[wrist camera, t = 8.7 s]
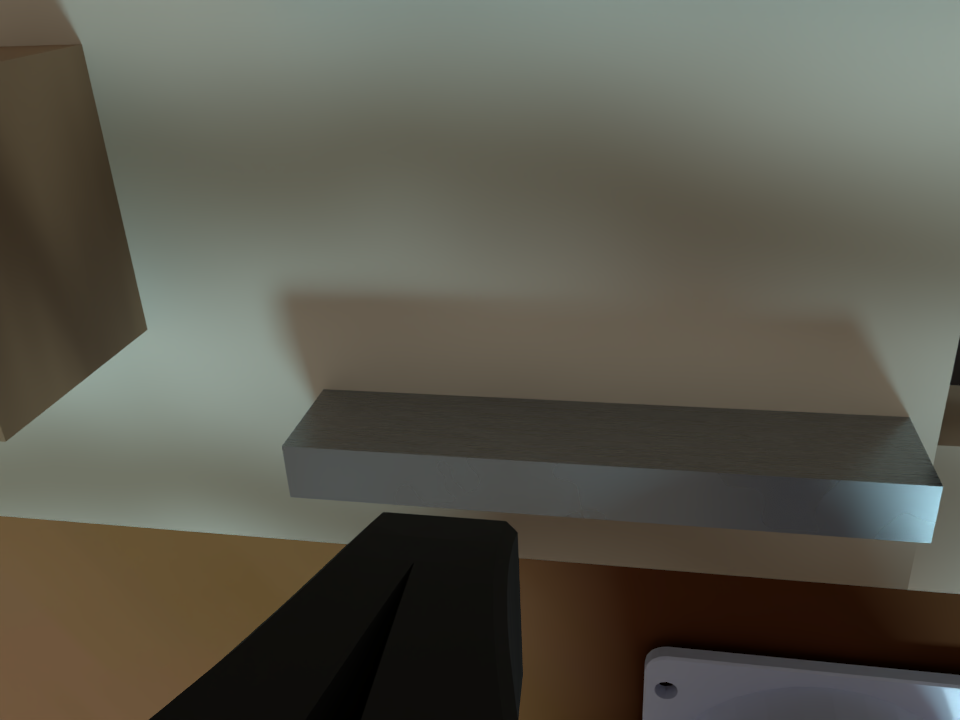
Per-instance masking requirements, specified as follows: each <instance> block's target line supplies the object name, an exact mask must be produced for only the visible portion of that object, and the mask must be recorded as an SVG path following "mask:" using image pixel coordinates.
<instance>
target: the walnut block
mask: <svg viewBox="0 0 960 720" xmlns="http://www.w3.org/2000/svg"><path fill="white" fill-rule="evenodd" d="M146 330H148V329H147V325H146V320H145V316H144V312H143V307H142V303H141V299H140V294H139V290H138V286H137V281H136V277H135V273H134V268H133V264H132V260H131V255H130V251H129V247H128V242H127V238H126V234H125V229H124V225H123V221H122V216H121V212H120V208H119V203H118V199H117V195H116V190H115V186H114V181H113V177H112V173H111V168H110V164H109V160H108V155H107V151H106V147H105V142H104V138H103V134H102V129H101V125H100V121H99V116H98V112H97V108H96V103H95V99H94V95H93V90H92V86H91V82H90V77H89V73H88V69H87V64H86V60H85V55H84V51H83V47H82V44H70V45H38V46H5V47H0V441H1V442H6V441H7V440H9V439H10V438H11V437H12V436H14V435H15V434H16V433H18V432H19V431H20V430H21V429H23V428H24V427H25V426H26V425H28V424H29V423H30V422H31V421H33V420H34V419H35V418H36V417H38V416H39V415H40V414H42V413H43V412H44V411H45V410H47V409H48V408H49V407H50V406H52V405H53V404H54V403H55V402H57V401H58V400H59V399H60V398H62V397H63V396H64V395H66V394H67V393H68V392H69V391H71V390H72V389H73V388H74V387H76V386H77V385H78V384H79V383H81V382H82V381H83V380H85V379H86V378H87V377H88V376H90V375H91V374H92V373H93V372H95V371H96V370H97V369H98V368H100V367H101V366H102V365H103V364H105V363H106V362H107V361H109V360H110V359H111V358H112V357H114V356H115V355H116V354H117V353H119V352H120V351H121V350H122V349H124V348H125V347H126V346H127V345H129V344H130V343H131V342H133V341H134V340H135V339H136V338H138V337H139V336H140V335H141V334H143V333H144V332H145V331H146Z"/></svg>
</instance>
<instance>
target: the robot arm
mask: <svg viewBox="0 0 960 720" xmlns="http://www.w3.org/2000/svg"><path fill="white" fill-rule="evenodd" d="M522 677H523V665H522V637H521V609H520V581H519V552H518V532H517V531H516V530H515V529H514V528H513V527H512V526H511V525H510V524H509V523H508V522H507V521H500V520H486V519H472V518H459V517H445V516H432V515H418V514H405V513H391V512H383V513H381V514H380V515H379V516H378V517H377V518H376V519H375V520H374V521H372V522H371V523H370V524H369V525H368V526H367V527H366V528H365V529H364V530H362V531H361V532H360V533H359V534H358V535H357V536H356V537H355V538H354V539H353V540H352V541H351V542H349V543H348V544H347V545H346V546H345V547H344V548H343V549H342V550H341V551H340V552H339V553H338V554H337V555H336V556H335V557H334V558H333V559H331V560H330V561H329V562H328V563H327V564H326V565H325V566H324V567H323V568H322V569H321V570H320V571H319V572H318V573H317V574H316V575H315V576H313V577H312V578H311V579H310V580H309V581H308V582H307V583H306V584H305V585H304V586H303V587H302V588H301V589H300V590H298V591H297V592H296V593H295V594H294V595H293V596H292V597H291V598H290V599H289V600H288V601H287V602H286V603H285V604H283V605H282V606H281V607H280V608H279V609H278V610H277V611H276V612H274V613H273V614H272V615H271V616H270V617H269V618H268V619H267V620H266V621H264V622H263V623H262V624H261V625H260V626H259V627H258V628H257V629H255V630H254V631H253V632H252V633H251V634H250V635H249V636H248V637H247V638H245V639H244V640H243V641H242V642H241V643H240V644H239V645H238V646H237V647H235V648H234V649H233V650H232V651H231V652H230V653H229V654H228V655H226V656H225V657H224V658H223V659H222V660H221V661H219V662H218V663H217V664H216V665H215V666H214V667H212V668H211V669H210V670H209V671H208V672H206V673H205V674H204V675H203V676H202V677H200V678H199V679H198V680H197V681H196V682H194V683H193V684H192V685H191V686H189V687H188V688H187V689H186V690H185V691H183V692H182V693H181V694H180V695H178V696H177V697H176V698H175V699H174V700H172V701H171V702H170V703H169V704H167V705H166V706H165V707H164V708H163V709H161V710H160V711H159V712H158V713H156V714H155V715H154V716H153V717H152V718H150V719H149V720H518V717H519V706H520V696H521V687H522ZM661 682H668V683H672V684H673V685H672V686H663V685H660V684H659V683H661ZM642 720H960V675H954V674H943V673H933V672H923V671H913V670H902V669H892V668H882V667H871V666H861V665H851V664H841V663H830V662H820V661H810V660H800V659H789V658H779V657H769V656H758V655H748V654H738V653H728V652H717V651H707V650H697V649H686V648H676V647H658V648H656V649H653V650H651V651H650V652H649V653H648V654H647V656H646V659H645V670H644V693H643V715H642Z"/></svg>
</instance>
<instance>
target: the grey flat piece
mask: <svg viewBox="0 0 960 720" xmlns="http://www.w3.org/2000/svg"><path fill="white" fill-rule="evenodd" d="M70 44H82V47H83V51H84V55H85V60H86V64H87V69H88V73H89V77H90V82H91V86H92V90H93V95H94V99H95V103H96V108H97V112H98V116H99V121H100V125H101V129H102V134H103V138H104V142H105V147H106V151H107V155H108V160H109V164H110V168H111V173H112V177H113V181H114V186H115V190H116V195H117V199H118V203H119V208H120V212H121V216H122V221H123V225H124V229H125V234H126V238H127V242H128V247H129V251H130V255H131V260H132V264H133V268H134V273H135V277H136V281H137V286H138V290H139V294H140V299H141V303H142V307H143V312H144V316H145V320H146V325H147V329H148V330H146V331H145V332H144V333H143V334H141V335H140V336H139V337H138V338H136V339H135V340H134V341H133V342H131V343H130V344H129V345H127V346H126V347H125V348H124V349H122V350H121V351H120V352H119V353H117V354H116V355H115V356H114V357H112V358H111V359H110V360H109V361H107V362H106V363H105V364H103V365H102V366H101V367H100V368H98V369H97V370H96V371H95V372H93V373H92V374H91V375H90V376H88V377H87V378H86V379H85V380H83V381H82V382H81V383H79V384H78V385H77V386H76V387H74V388H73V389H72V390H71V391H69V392H68V393H67V394H66V395H64V396H63V397H62V398H60V399H59V400H58V401H57V402H55V403H54V404H53V405H52V406H50V407H49V408H48V409H47V410H45V411H44V412H43V413H42V414H40V415H39V416H38V417H36V418H35V419H34V420H33V421H31V422H30V423H29V424H28V425H26V426H25V427H24V428H23V429H21V430H20V431H19V432H18V433H16V434H15V435H14V436H12V437H11V438H10V439H9V440H7V441H6V442H1V441H0V516H9V517H22V518H34V519H46V520H58V521H71V522H83V523H95V524H107V525H120V526H132V527H144V528H156V529H169V530H181V531H193V532H206V533H218V534H230V535H242V536H255V537H267V538H279V539H291V540H304V541H316V542H328V543H340V544H348V543H349V542H351V541H352V540H353V539H354V538H355V537H356V536H357V535H358V534H359V533H360V532H361V531H362V530H364V529H365V528H366V527H367V526H368V525H369V524H370V523H371V522H372V521H374V520H375V519H376V518H377V517H378V516H379V515H380V514H381V513H383V512H391V513H405V514H418V515H432V516H445V517H459V518H472V519H486V520H500V521H507V522H508V523H509V524H510V525H511V526H512V527H513V528H514V529H515V530H516V531H517V532H518V552H519V558H524V559H537V560H549V561H561V562H574V563H586V564H598V565H610V566H623V567H635V568H647V569H659V570H672V571H684V572H696V573H708V574H721V575H733V576H745V577H757V578H770V579H782V580H794V581H807V582H819V583H831V584H843V585H856V586H868V587H880V588H892V589H905V590H917V591H929V592H941V593H954V594H960V0H0V47H5V46H38V45H70ZM323 389H330V390H351V391H372V392H393V393H414V394H435V395H456V396H477V397H498V398H519V399H540V400H561V401H582V402H603V403H624V404H645V405H666V406H687V407H708V408H729V409H750V410H771V411H792V412H813V413H834V414H855V415H876V416H897V417H910V419H911V421H912V423H913V425H914V427H915V429H916V432H917V434H918V436H919V438H920V440H921V442H922V444H923V446H924V448H925V450H926V452H927V454H928V456H929V458H930V460H931V462H932V464H933V466H934V469H935V471H936V473H937V475H938V477H939V479H940V481H941V483H942V485H943V490H942V495H941V499H940V504H939V509H938V513H937V518H936V523H935V527H934V532H933V537H932V541H931V543H918V542H904V541H890V540H876V539H862V538H849V537H835V536H821V535H807V534H793V533H779V532H765V531H751V530H738V529H724V528H710V527H696V526H682V525H668V524H654V523H641V522H627V521H613V520H599V519H585V518H571V517H557V516H543V515H530V514H516V513H502V512H488V511H474V510H460V509H446V508H433V507H419V506H405V505H391V504H377V503H363V502H349V501H335V500H322V499H308V498H294V497H290V492H289V486H288V480H287V474H286V468H285V462H284V456H283V451H282V445H283V444H284V443H285V441H286V440H287V438H288V437H289V436H290V434H291V433H292V432H293V430H294V429H295V427H296V426H297V425H298V423H299V422H300V421H301V419H302V418H303V417H304V415H305V414H306V412H307V411H308V410H309V408H310V407H311V406H312V404H313V403H314V401H315V400H316V399H317V397H318V396H319V395H320V393H321V392H322V391H323Z"/></svg>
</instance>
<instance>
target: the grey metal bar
mask: <svg viewBox="0 0 960 720" xmlns="http://www.w3.org/2000/svg"><path fill="white" fill-rule="evenodd" d="M282 451H283V456H284V462H285V468H286V474H287V480H288V486H289V492H290V497H294V498H308V499H322V500H335V501H349V502H363V503H377V504H391V505H405V506H419V507H433V508H446V509H460V510H474V511H488V512H502V513H516V514H530V515H543V516H557V517H571V518H585V519H599V520H613V521H627V522H641V523H654V524H668V525H682V526H696V527H710V528H724V529H738V530H751V531H765V532H779V533H793V534H807V535H821V536H835V537H849V538H862V539H876V540H890V541H904V542H918V543H931V541H932V537H933V532H934V527H935V523H936V518H937V513H938V509H939V504H940V499H941V495H942V490H943V485H942V483H941V481H940V479H939V477H938V475H937V473H936V471H935V469H934V466H933V464H932V462H931V460H930V458H929V456H928V454H927V452H926V450H925V448H924V446H923V444H922V442H921V440H920V438H919V436H918V434H917V432H916V429H915V427H914V425H913V423H912V421H911V419H910V417H897V416H876V415H855V414H834V413H813V412H792V411H771V410H750V409H729V408H708V407H687V406H666V405H645V404H624V403H603V402H582V401H561V400H540V399H519V398H498V397H477V396H456V395H435V394H414V393H393V392H372V391H351V390H330V389H323V391H322V392H321V393H320V395H319V396H318V397H317V399H316V400H315V401H314V403H313V404H312V406H311V407H310V408H309V410H308V411H307V412H306V414H305V415H304V417H303V418H302V419H301V421H300V422H299V423H298V425H297V426H296V427H295V429H294V430H293V432H292V433H291V434H290V436H289V437H288V438H287V440H286V441H285V443H284V444H283V445H282Z"/></svg>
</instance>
